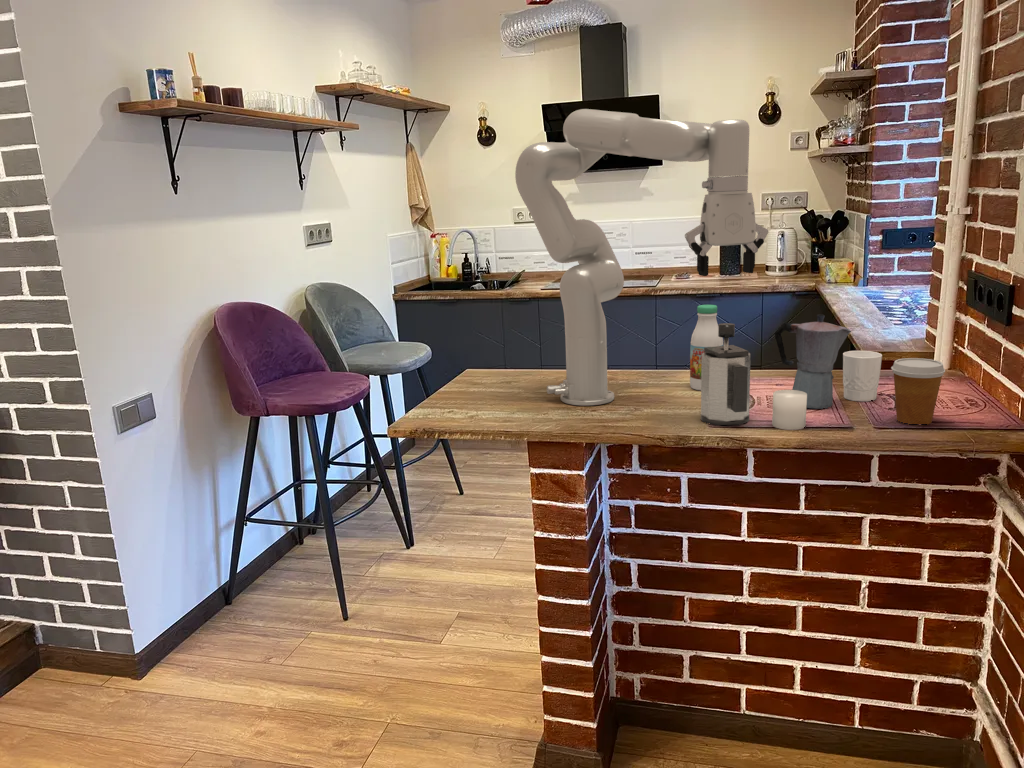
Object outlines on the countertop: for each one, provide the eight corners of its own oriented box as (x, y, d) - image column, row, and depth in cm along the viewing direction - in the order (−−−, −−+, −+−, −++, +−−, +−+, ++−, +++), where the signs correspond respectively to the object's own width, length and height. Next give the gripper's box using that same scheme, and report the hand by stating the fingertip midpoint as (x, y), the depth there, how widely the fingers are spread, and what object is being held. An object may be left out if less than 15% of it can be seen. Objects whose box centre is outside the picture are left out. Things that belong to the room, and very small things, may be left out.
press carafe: (718, 431, 159) (719, 357, 156) (693, 415, 171) (693, 346, 167) (763, 426, 161) (765, 353, 158) (735, 411, 172) (736, 342, 169)
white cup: (873, 393, 181) (876, 350, 179) (883, 402, 174) (886, 357, 171) (837, 393, 183) (839, 350, 180) (845, 402, 175) (847, 358, 173)
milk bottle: (688, 383, 197) (689, 303, 193) (720, 383, 196) (722, 302, 192) (691, 391, 190) (691, 308, 185) (724, 391, 189) (726, 307, 184)
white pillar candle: (782, 431, 157) (783, 399, 156) (766, 422, 164) (767, 391, 162) (812, 428, 159) (813, 395, 157) (794, 419, 165) (795, 388, 163)
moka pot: (851, 410, 169) (856, 317, 164) (775, 410, 172) (778, 318, 167) (842, 399, 178) (847, 310, 173) (770, 398, 181) (773, 311, 176)
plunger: (717, 395, 161) (718, 328, 158) (702, 388, 168) (703, 323, 165) (748, 392, 163) (750, 325, 159) (732, 385, 169) (734, 320, 166)
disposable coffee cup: (878, 421, 161) (882, 363, 158) (902, 411, 166) (906, 355, 163) (926, 431, 153) (931, 370, 151) (949, 420, 159) (954, 362, 156)
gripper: (694, 188, 151) (693, 278, 155) (778, 184, 154) (774, 273, 158) (678, 188, 158) (677, 274, 162) (759, 184, 161) (756, 269, 165)
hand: (725, 273), depth 160 cm, fingers open, 9 cm apart
